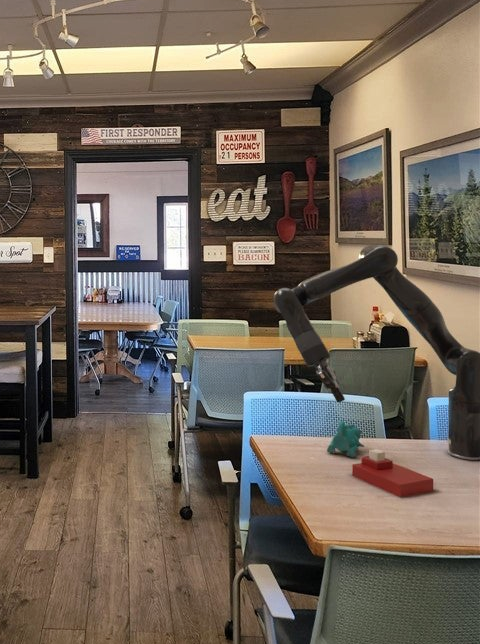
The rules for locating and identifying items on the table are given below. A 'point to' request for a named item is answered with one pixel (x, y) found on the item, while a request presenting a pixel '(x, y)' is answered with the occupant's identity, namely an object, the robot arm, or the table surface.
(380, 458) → the white cube
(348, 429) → the toy
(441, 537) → the table surface
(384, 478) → the red push button box
